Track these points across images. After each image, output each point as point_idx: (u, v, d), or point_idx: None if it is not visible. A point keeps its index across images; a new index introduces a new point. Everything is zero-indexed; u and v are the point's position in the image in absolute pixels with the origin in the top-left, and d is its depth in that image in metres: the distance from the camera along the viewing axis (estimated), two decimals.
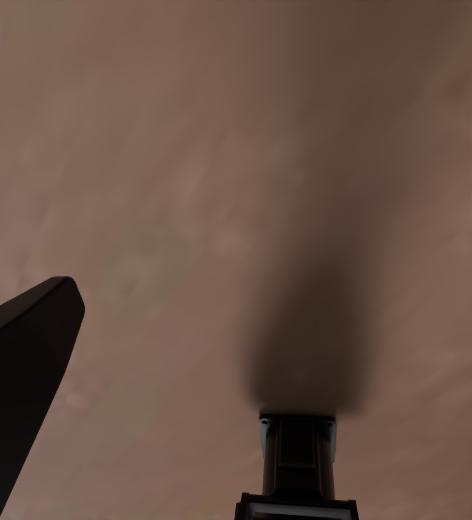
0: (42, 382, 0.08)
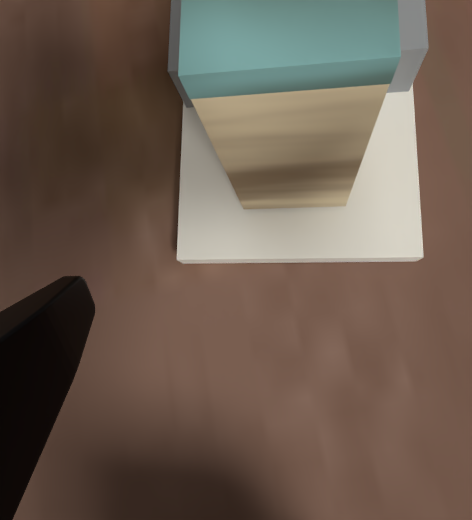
0: (54, 382, 0.08)
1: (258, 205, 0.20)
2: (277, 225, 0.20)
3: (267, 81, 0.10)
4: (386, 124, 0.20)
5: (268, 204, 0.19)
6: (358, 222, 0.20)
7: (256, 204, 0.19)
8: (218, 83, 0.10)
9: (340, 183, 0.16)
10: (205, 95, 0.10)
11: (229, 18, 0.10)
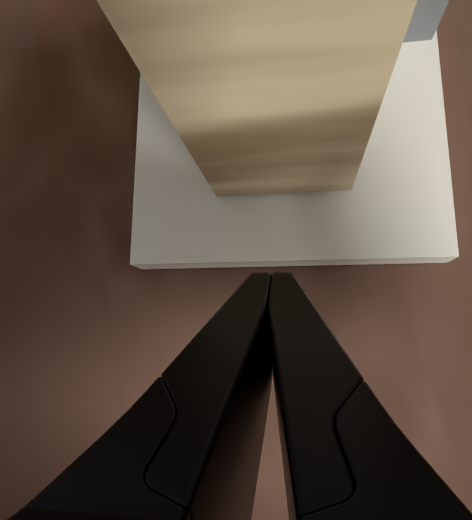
0: (265, 388, 0.07)
1: (235, 189, 0.15)
2: (261, 217, 0.15)
3: None
4: (403, 82, 0.15)
5: (247, 188, 0.14)
6: (369, 211, 0.15)
7: (232, 188, 0.14)
8: None
9: (345, 152, 0.12)
10: None
11: None
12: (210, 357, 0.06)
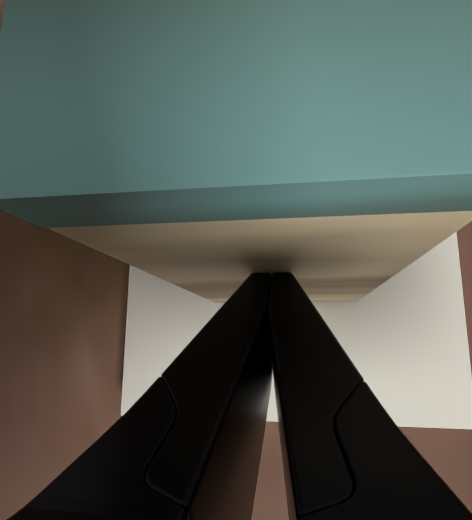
0: (265, 388, 0.07)
1: None
2: None
3: (198, 206, 0.04)
4: None
5: None
6: (378, 370, 0.14)
7: None
8: (85, 208, 0.04)
9: (352, 290, 0.11)
10: (71, 223, 0.05)
11: (103, 59, 0.04)
12: (210, 357, 0.06)
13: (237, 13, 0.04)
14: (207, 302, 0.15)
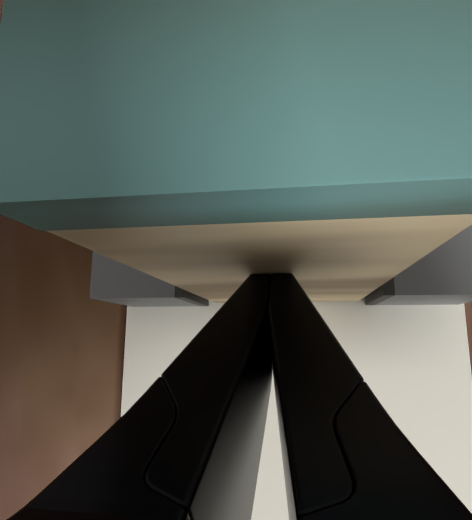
0: (265, 388, 0.07)
1: None
2: (263, 513, 0.13)
3: (198, 209, 0.04)
4: (425, 356, 0.13)
5: None
6: None
7: None
8: (85, 212, 0.04)
9: (353, 291, 0.11)
10: (70, 226, 0.05)
11: (102, 62, 0.04)
12: (210, 357, 0.06)
13: (237, 15, 0.04)
14: None
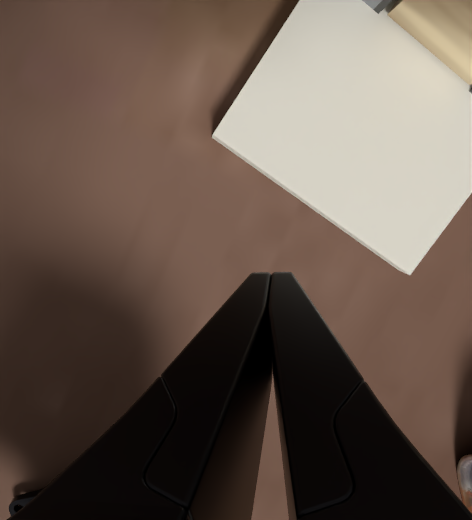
0: (265, 388, 0.07)
1: (407, 21, 0.17)
2: (324, 169, 0.19)
3: None
4: None
5: (417, 27, 0.17)
6: (387, 214, 0.20)
7: (407, 18, 0.17)
8: None
9: None
10: None
11: None
12: (210, 357, 0.06)
13: None
14: (319, 99, 0.18)
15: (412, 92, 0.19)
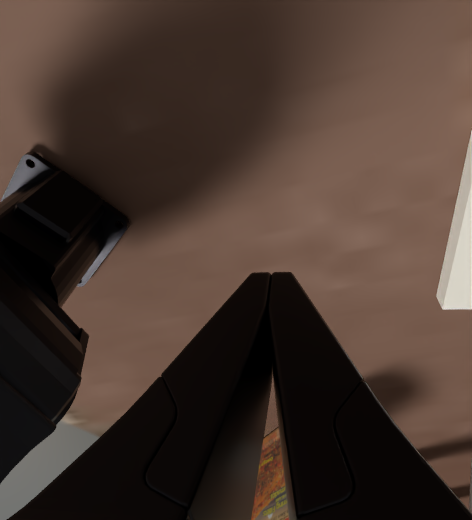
0: (265, 388, 0.07)
1: None
2: None
3: None
4: None
5: None
6: None
7: None
8: None
9: None
10: None
11: None
12: (210, 357, 0.06)
13: None
14: None
15: None
